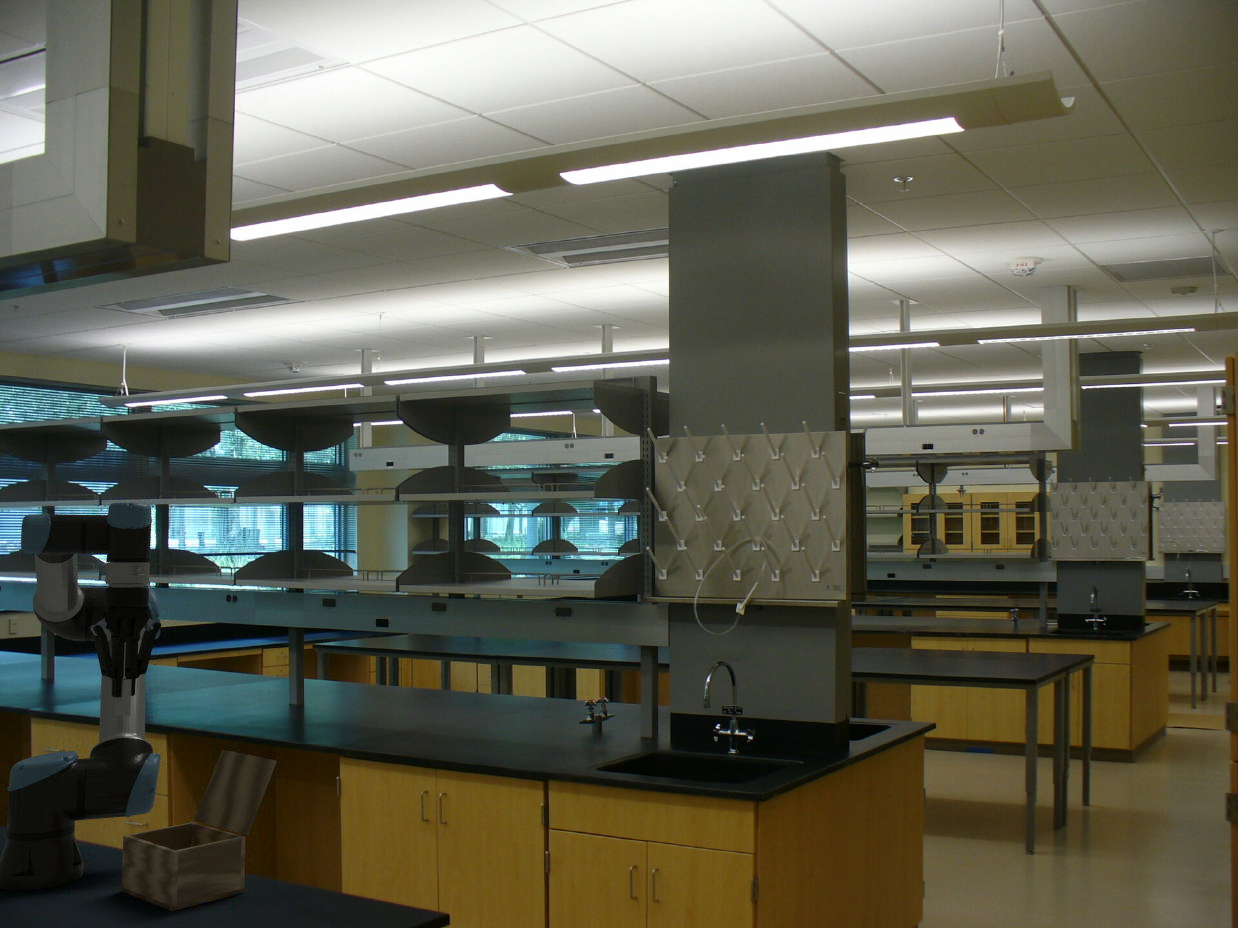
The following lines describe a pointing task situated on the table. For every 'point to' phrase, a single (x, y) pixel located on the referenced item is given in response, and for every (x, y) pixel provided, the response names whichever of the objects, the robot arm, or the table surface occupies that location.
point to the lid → (235, 791)
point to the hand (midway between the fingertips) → (122, 714)
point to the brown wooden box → (183, 865)
